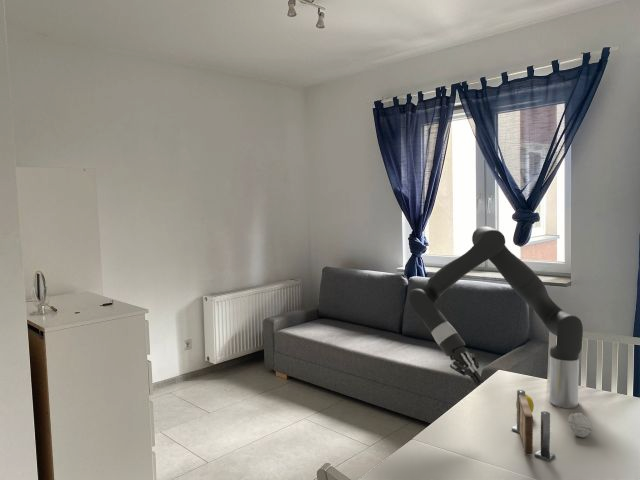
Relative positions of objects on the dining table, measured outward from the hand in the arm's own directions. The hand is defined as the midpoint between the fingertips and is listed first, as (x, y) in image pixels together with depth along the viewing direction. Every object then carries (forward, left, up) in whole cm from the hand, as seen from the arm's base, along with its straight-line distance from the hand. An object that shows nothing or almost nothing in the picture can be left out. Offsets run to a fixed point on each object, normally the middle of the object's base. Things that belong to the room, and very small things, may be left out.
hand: (480, 383), depth 153 cm
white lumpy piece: (-20, +22, -16) cm, 34 cm away
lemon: (-20, +4, -16) cm, 26 cm away
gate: (-2, +14, -15) cm, 20 cm away
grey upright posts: (-5, +14, -16) cm, 22 cm away
